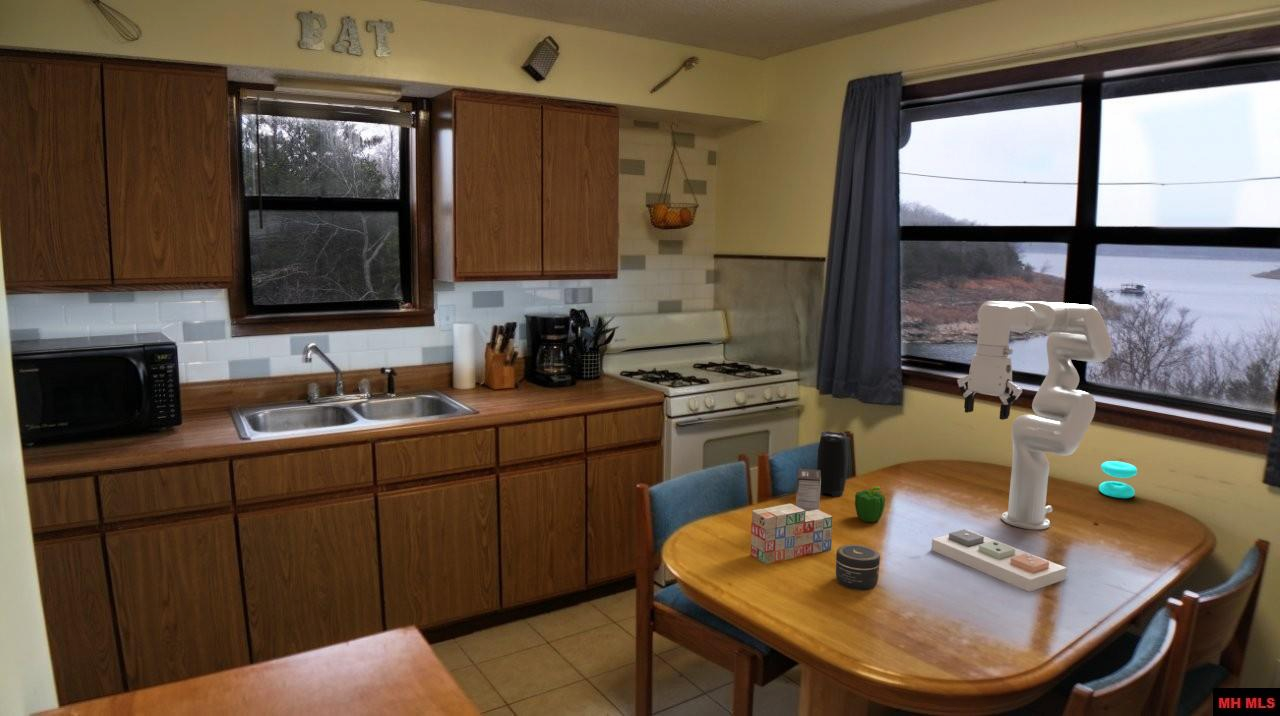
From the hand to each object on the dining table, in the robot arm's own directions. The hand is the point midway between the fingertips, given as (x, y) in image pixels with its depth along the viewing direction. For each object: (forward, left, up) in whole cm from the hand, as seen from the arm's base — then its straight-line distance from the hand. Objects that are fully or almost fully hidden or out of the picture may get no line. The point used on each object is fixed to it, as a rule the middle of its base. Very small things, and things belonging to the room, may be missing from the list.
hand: (985, 415), depth 209 cm
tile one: (+9, +3, -33) cm, 34 cm away
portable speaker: (+7, -49, -35) cm, 60 cm away
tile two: (+9, +12, -33) cm, 36 cm away
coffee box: (+35, -29, -35) cm, 57 cm away
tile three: (+9, +21, -33) cm, 40 cm away
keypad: (+9, +12, -35) cm, 38 cm away
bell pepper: (+14, -26, -35) cm, 46 cm away
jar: (+48, +3, -35) cm, 59 cm away
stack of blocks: (+49, -18, -35) cm, 63 cm away
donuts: (-75, -5, -35) cm, 83 cm away
